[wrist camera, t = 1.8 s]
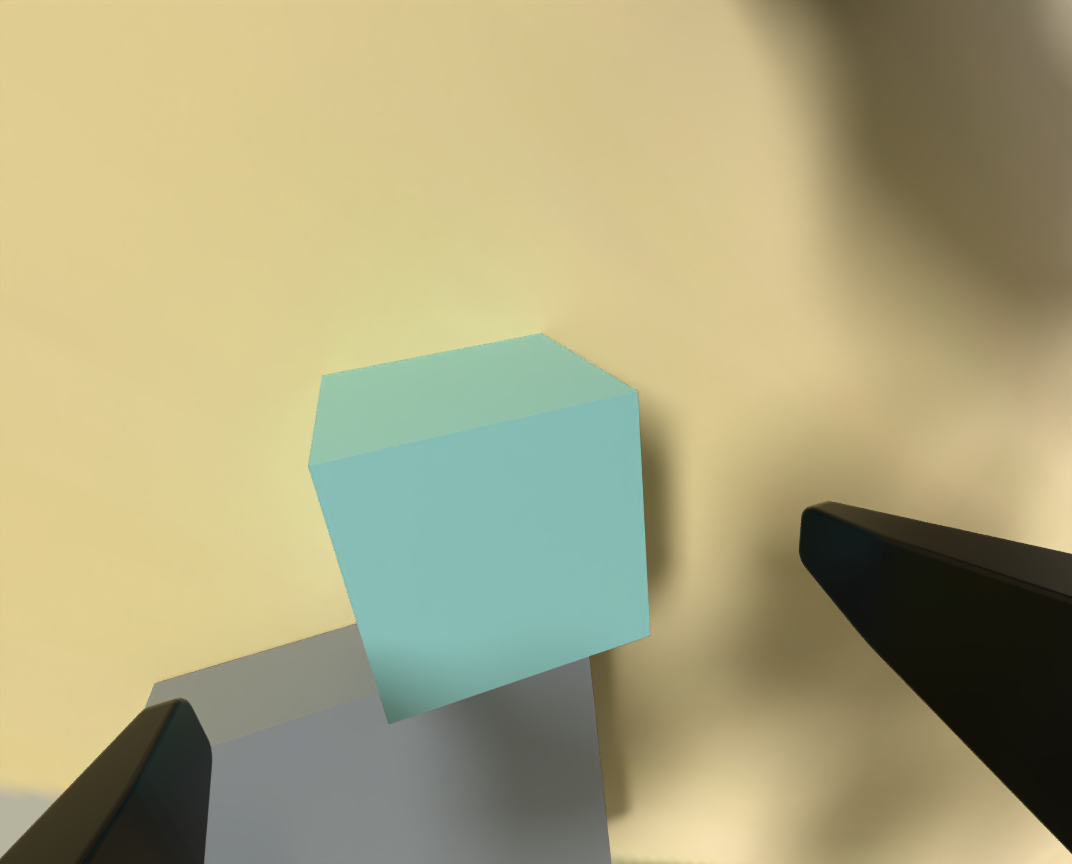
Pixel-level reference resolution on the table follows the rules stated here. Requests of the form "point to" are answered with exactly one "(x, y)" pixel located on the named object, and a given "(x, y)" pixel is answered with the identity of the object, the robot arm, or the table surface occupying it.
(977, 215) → the table surface
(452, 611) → the cube
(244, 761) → the tile
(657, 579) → the table surface
